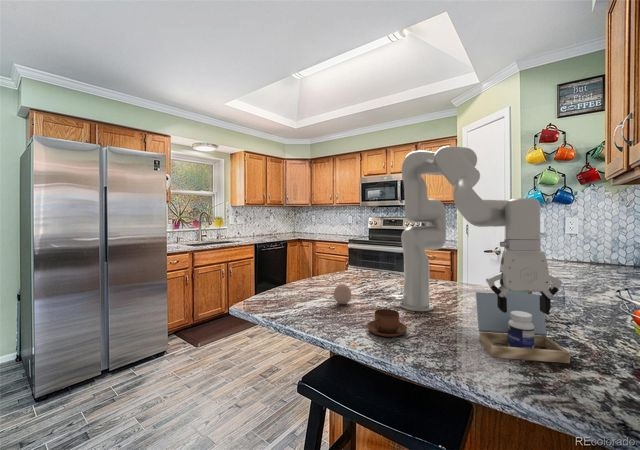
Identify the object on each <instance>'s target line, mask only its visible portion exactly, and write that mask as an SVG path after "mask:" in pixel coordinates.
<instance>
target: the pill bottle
mask: <svg viewBox="0 0 640 450" xmlns="http://www.w3.org/2000/svg"><path fill="white" fill-rule="evenodd" d="M510 317H511V318H512V319H511V320H509V322H508V344H507V347H518V348H532V349H535V346H534V336H535V335H534V325H533V324H532V323H531V321H532V315H531V314H529V313H527V312H522V311H512V312H511V314H510Z"/></svg>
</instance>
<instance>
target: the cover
mask: <svg viewBox="0 0 640 450" xmlns="http://www.w3.org/2000/svg"><path fill="white" fill-rule="evenodd" d="M540 296H542V294H534V293H532V294H509V293H507V294H506V295H505V297H506V298H507V312H506V313H503V312H502V311H501V310H500V309H499V308H498V305H497V294H496V293H495V292H482V291H481V292H480V291H479V292H478V291H476V292H475V299H476V300H475V301H476V315H477V327H478V328H477V329H478V333H479V332H486V333H501V334H508V322H509V320H511V319H512V318H511V317H510V314H511V312H512V311H522V312H527V313H529V314H531V315H532V321H531V323H532V324H533V325H534V336H547V337H548V332H547V325H546V324H547V323H546V318H545V317H546V314H545V313H543V312H541V311H540Z"/></svg>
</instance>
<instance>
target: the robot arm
mask: <svg viewBox="0 0 640 450" xmlns="http://www.w3.org/2000/svg"><path fill="white" fill-rule="evenodd" d="M402 161H403V162H402V164H401V176H402V182H403V189H404V192H403V193H404V194H403V195H404V216H405V219H406V221H408V222H410V223H414V224H415V223H416V224H417V223H418V224H422V223H423V224H424V223H426V225H413V226H409V227H406V228H405V229H404V230H403V231H402V233H401V235H400V236H401V246H402V252H403V292H402V294H400V295H395V294H393V295H391V300H392V301H395V302H399V306H400V307H401V308H402V309H404V310H407V311H414V312H429V311H432V310H434V307H435V305H434V304H433V303H432V302H430V260H429V258H428V255H427V253H426V251H434V250H439V249H442V248H443V247H444V245H445V243H446V239H447V224H446V223H447V217H446V207H445V205H444V203H443V202H442V201H440V199H437V198H428V186H427V183H426V181H425V179H424V178H423V176H422V175H429V176H430V175H431V176H443V177H444V178H445V179H446V181H448V183H449V184H450V185H451V186H452V188H453V190H452V191H453V193H452V195H453V203H454V205H455V207H456V210H458V212H459V213H460V214H461V216H462V217H463V218H464V219H465V220H466V221H467V222H468V223H469V224H471V225H473V226H475V227H482V228H484V227H487V228H488V227H489V228H490V227H491V228H492V227H494V228H495V227H500V228H501V227H504V228H505V233H504V235H505V238H504V241H500V242H499V246H500V247H501V248H502V247H503V248H504V249H505V250H503V251H502V254H501V259H500V265H499V272H498V273H496V274H494V275H491V276H489V277H487V278H486V279H485V282H486V283H487V285H488V286H489V289H490V290H491V291H492V292H493V293H496V294H497V305H498V308H499V309H500V310H501V311H502V312H503V313H506V312H507V298H506V297H505V295H506V294H507V293H508V291H509V290H511V291H530V292H532V293H533V292H537V293H540V295H542V296H540V311H541V312H543V313H544V315H549V314H550V311H551V309H552V307H551V306H552V305H551V303H552V302H551V301H552V299H553V298H554V296H555V295H556V294H557V293H558V292H559V289H560V288H561V286H562V285H563V281H562V280H560V279H559V278H557V277H554V276H552V275H550V271H549V264H548V260H547V255H546V253H545V251H541V248H542V247H541V243H542V241H541V203H540V200H538V199H537V198H535V197H520V198H511V199H508V200H506V199H504V200H503V199H483V198H482V197H480V196H479V195H478V194H477V192H476V190H474V189H473V188H474V187H475V186H476V185H477V184H478V182H479V181H480V179H481V174H480V171H479V170H478V168H476V166H477V164H478V163H477V162H478V157H477V153H476V152H475V151H474V150H473V149H471V148H470V147H465V146H457V145H445V146H442V147H440V148H438V150H436V151H429V150H416V151H411V152H409V153H408V154H407V155H406V156H405V157H404V160H402ZM497 281H499V287H498V286H496V284H495V282H497ZM550 282H551V283H552V284H550Z"/></svg>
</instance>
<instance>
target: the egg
mask: <svg viewBox="0 0 640 450" xmlns="http://www.w3.org/2000/svg"><path fill="white" fill-rule="evenodd" d="M333 298H334V300H335V301H336V302H337V303H338V304H339V305H346V304H347V303H349V302H350V301H351V299H352V291H351V288H350V287H349V286H348V285H347V283H346V284H345V283H339V284H338V285H336V287H335V288H334V291H333Z"/></svg>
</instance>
